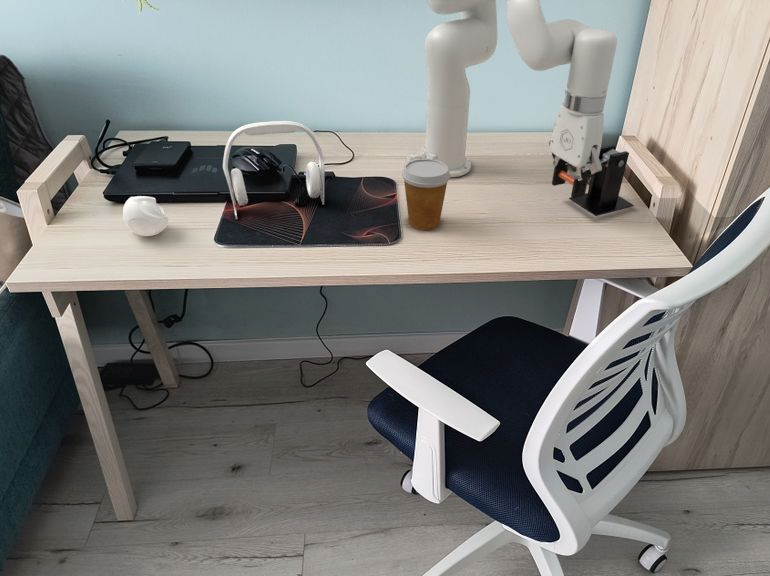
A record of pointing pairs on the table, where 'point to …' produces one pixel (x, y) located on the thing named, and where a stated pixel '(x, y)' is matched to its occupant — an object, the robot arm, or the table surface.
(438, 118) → the robot arm
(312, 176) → the headset
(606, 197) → the stand
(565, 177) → the lever
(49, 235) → the table surface
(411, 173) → the disposable coffee cup
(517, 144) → the table surface
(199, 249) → the table surface
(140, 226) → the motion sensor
